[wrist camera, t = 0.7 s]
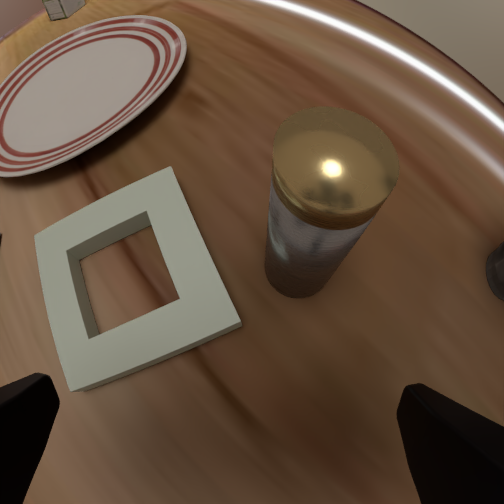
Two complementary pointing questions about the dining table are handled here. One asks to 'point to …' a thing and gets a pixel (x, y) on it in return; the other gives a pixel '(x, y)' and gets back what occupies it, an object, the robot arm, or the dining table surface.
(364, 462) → the dining table surface
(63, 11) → the syrup box
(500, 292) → the beverage cup
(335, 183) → the jar with gold lid
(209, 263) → the white flat square frame
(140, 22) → the dinner plate
